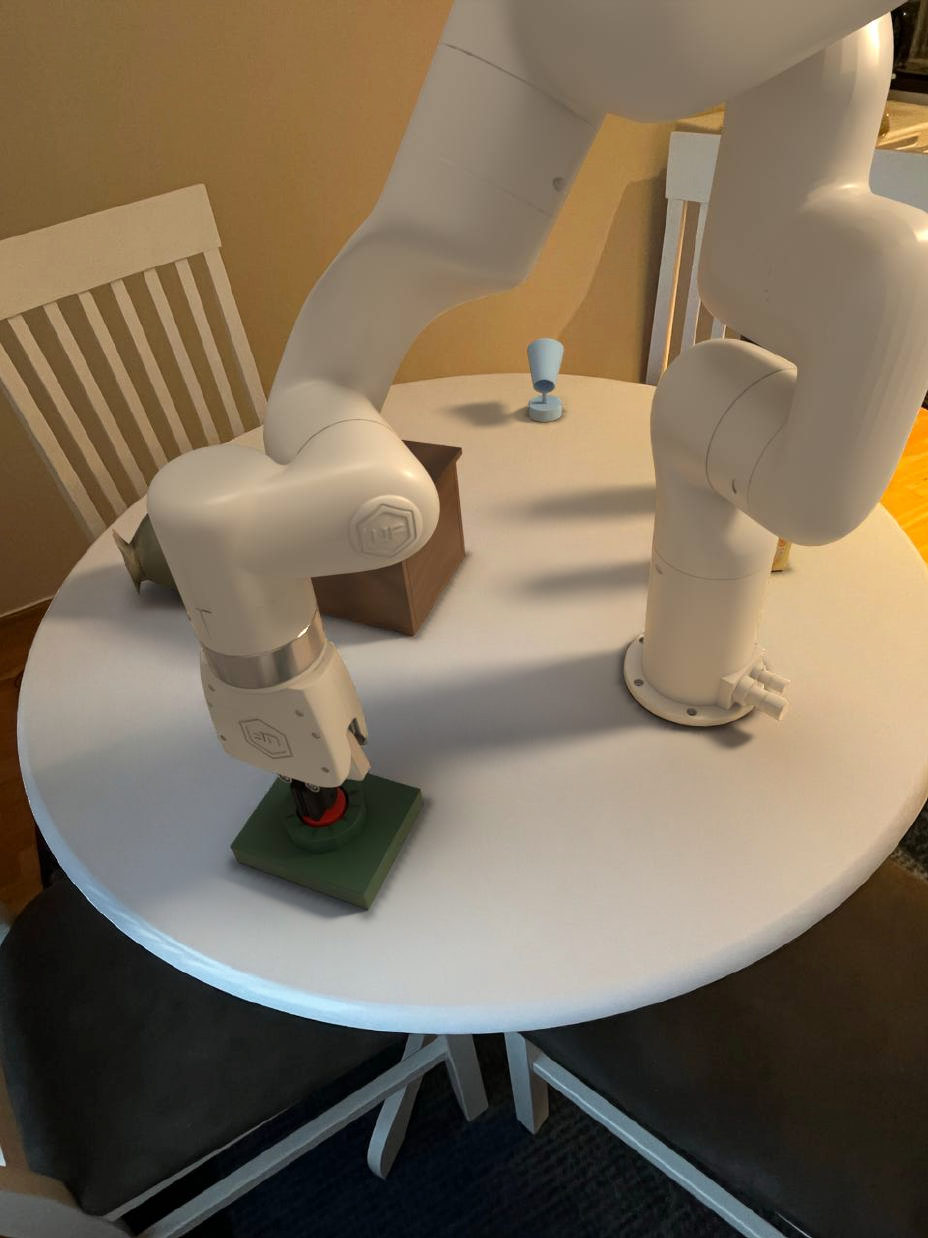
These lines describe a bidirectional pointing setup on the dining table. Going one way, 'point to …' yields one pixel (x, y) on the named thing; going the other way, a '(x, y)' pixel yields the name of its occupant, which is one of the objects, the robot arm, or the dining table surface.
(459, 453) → the lid
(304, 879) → the control
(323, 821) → the button
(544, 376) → the spotlight
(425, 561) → the chest
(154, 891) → the dining table surface
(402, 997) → the dining table surface
